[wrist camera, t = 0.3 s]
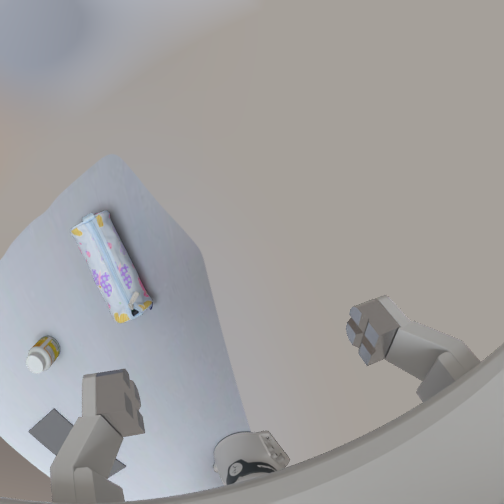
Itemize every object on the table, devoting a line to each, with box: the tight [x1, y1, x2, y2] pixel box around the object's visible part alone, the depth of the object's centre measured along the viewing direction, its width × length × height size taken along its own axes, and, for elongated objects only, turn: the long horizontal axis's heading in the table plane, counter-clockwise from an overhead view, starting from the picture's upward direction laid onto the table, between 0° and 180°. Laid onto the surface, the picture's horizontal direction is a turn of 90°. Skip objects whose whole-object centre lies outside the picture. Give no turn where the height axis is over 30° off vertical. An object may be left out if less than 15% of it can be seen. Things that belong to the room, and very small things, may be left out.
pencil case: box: [70, 210, 153, 324], centre depth 54 cm, size 21×9×10 cm, turn 24°
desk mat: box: [29, 409, 126, 478], centre depth 59 cm, size 24×14×1 cm, turn 39°
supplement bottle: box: [26, 336, 60, 374], centre depth 52 cm, size 6×6×10 cm
